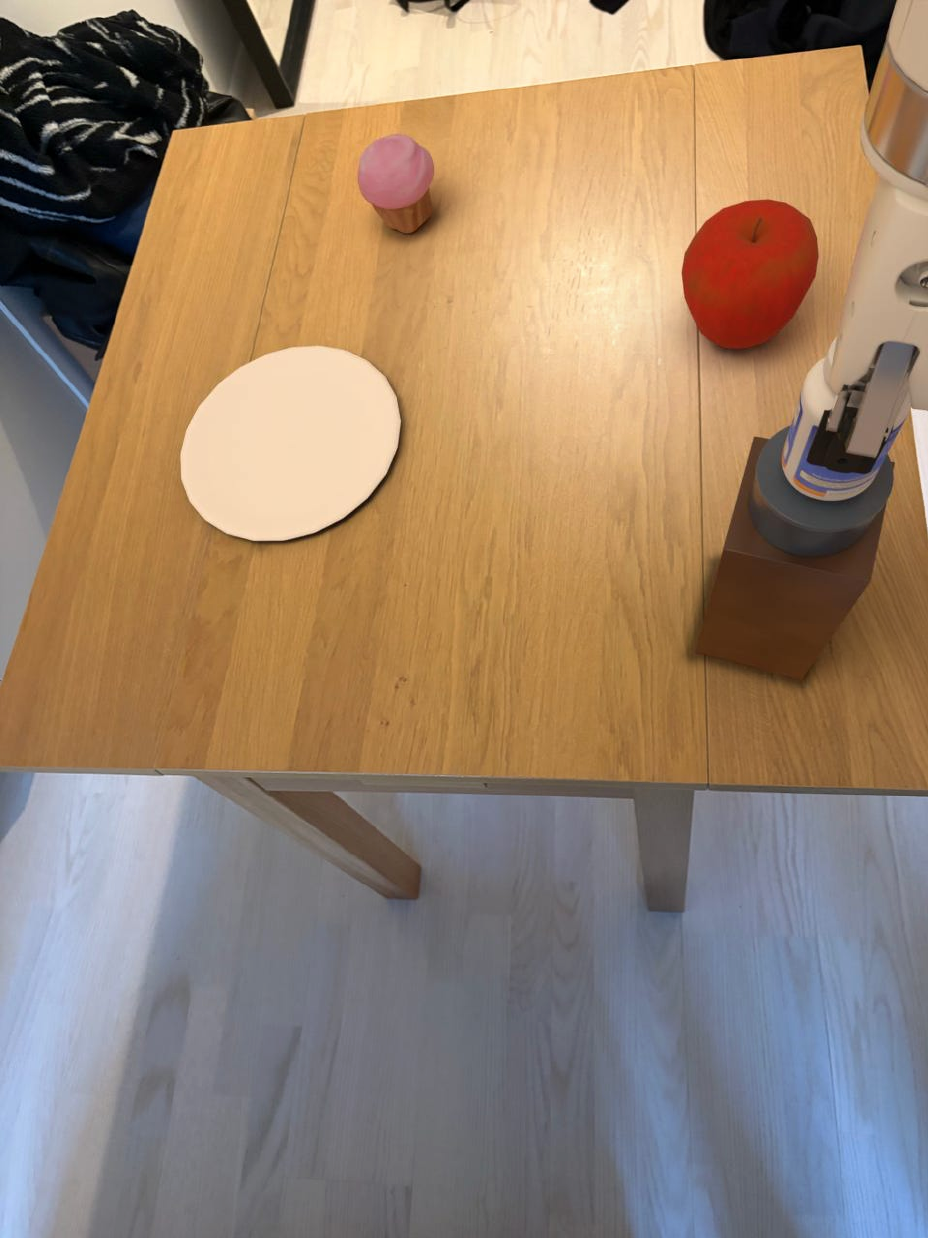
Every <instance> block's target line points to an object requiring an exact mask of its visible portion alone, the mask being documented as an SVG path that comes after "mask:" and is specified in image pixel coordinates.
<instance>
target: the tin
mask: <svg viewBox="0 0 928 1238" xmlns="http://www.w3.org/2000/svg"><path fill="white" fill-rule="evenodd" d="M790 426H791V424H790V425H788V426H786V427H784V428H782V429H781V430H778V431H777V432H776V433H775V434H774V435H773V436H771V437H770V438H769V439H770V440H769V441H768V442H767V443H766V445H765V446H764V447H763V449H762V451H761V453H760V455H759V458H758V461H757V465H756V474H755V477H754V480H753V484H752V487H751V490H750V495H749V505H748V506H749V513H750V516H751V519H752V521H753V524H754V526H755V527H756V529H757V530H758V532H759V533H760V534H761V535H762V536H763V537H764V538H765V539H766V540H767V541H768V542H769V543H771V544H772V545H774V546H775V547H777V548H779V549H781V550H783V551H785V552H788V553H791V554H794V555H798V556H804V557H823V556H829V555H833V554H837V553H839V552H842V551H844V550H846V549H848V548H850V547H851V546H853V545H854V544H855V543H857V542H858V541H859V540H860V539H861V538H862V537H863V535H864V534H865V532H866V531H867V529H868V528H869V526H870V525H871V523H872V521H873V520H874V518H875V516H876V515H877V513H878V512H879V511H880V510H881V509H882V508H883V506H884V505H885V503H886V502H887V503H888V500H889V498H890V496H891V494H892V491H893V488H894V480H895V473H894V471H893V466H892V463H891V462H892V460H891V458H890V456H889V453H888V454H887V456H886V458H885V460H884V462H883V464H882V465H881V467H880V469H879V471H878V473H877V475H876V477H875V478H874V480H873V482H872V483H871V484H870V485H869V486H868V487H867V488H866V489H865V490H864V491H863V492H861V493H860V494H858V495H856V496H854V497H851V498H848V499H844V500H838V501H824V500H818V499H814V498H811V497H809V496H806V495H804V494H802V493H801V492H799V491H798V490H797V489H795V488H794V487H793V486H792V485H791V483H790V482H789V481H788V479H787V478H786V476H785V473H784V471H783V467H782V453H783V448H784V445H785V442H786V439H787V435H788V432H789V429H790Z"/></svg>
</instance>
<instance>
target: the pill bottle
mask: <svg viewBox="0 0 928 1238" xmlns="http://www.w3.org/2000/svg"><path fill="white" fill-rule="evenodd" d="M836 340H837V336H836V337H835V338H833V340H832V342H831V343H830V346H829V349H828V351H827V354H826V355H824V356H823V357H822V358H820V359H819V360H818V361H817V362H816V363H815V364H814V365H813V366H812V367H811V368H810V369H809V371H808V373H807V375H806V377H805V379H804V381H803V385H802V388H801V391H800V394H799V397H798V400H797V403H796V406H795V410H794V413H793V416H792V420H791V423H790V425H791V426H790V425H789V426H790V429H789V432H788V435H787V439H786V442H785V445H784V448H783V453H782V467H783V471H784V473H785V476H786V478H787V479H788V481H789V482H790V483H791V485H792V486H793V487H794V488H795V489H797V490H798V491H799V492H801V493H802V494H804V495H806V496H809V497H811V498H814V499H818V500H824V501H838V500H844V499H848V498H851V497H854V496H856V495H858V494H860V493H861V492H863V491H864V490H865V489H866V488H867V487H868V486H869V485H870V484H871V483H872V482H873V480H874V478H875V477H876V475H877V473H878V471H879V469H880V467H881V465H882V464H883V462H884V460H885V458H886V456H887V454H888V455H889V452H890V450H891V448H892V446H893V444H894V442H895V441H896V438H897V436H898V435H899V433H900V431H901V429H902V428H903V427H902V426H903V425H904V423H905V421H906V419H907V417H908V416H909V414H910V412H911V409H912V406H911V402H910V396H909V391H908V393H907V395H906V397H905V399H904V402H903V404H902V406H901V409H900V411H899V413H898V416H897V418H896V420H895V423H894V427H893V431H892V433H891V434H890V436H889V438H888V440H887V442H886V444H885V446H884V448H883V449H882V451H881V453H880V455H879V457H878V459H877V461H876V463H875V464H874V466H873V468H872V470H871V472H870V473H868V474H859V473H853V472H852V473H840V472H835V471H831V470H829V469H827V468H826V467H822V466H816V465H812V464H809V463H808V462H807V461H806V460H807V456H808V452H809V449H810V446H811V444H812V441H813V439H814V436H815V433H816V431H817V428H818V426H819V423H820V420H821V418H822V415H823V413H824V410H831V409H832V406H833V403H834V400H835V397H836V394H835V393H834V392H833V390H832V389H831V387H830V385H829V378H830V373H831V367H832V362H833V356H834V351H835V345H836ZM872 366H873V365H872V364H871V365H870V367H869V368H872ZM863 393H864V392H861V391H855V390H852V393H851V396H850V399H849V401H848V404H847V406H849V407H855V408H859V405H860V402H861V399H862V396H863Z"/></svg>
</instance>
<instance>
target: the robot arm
mask: <svg viewBox="0 0 928 1238" xmlns="http://www.w3.org/2000/svg"><path fill="white" fill-rule="evenodd" d="M877 63H878V64H877V67H876V71H875V72H874V73H875V74H874V77H873V80H872V83H871V87H870V90H869V94H868V97H867V100H866V104H865V106H864V110H863V113H862V116H861V120H860V123H859V124H860V125H859V143H860V146H861V149H862V152H863V155H864V157H865V159H866V161H867V162H868V164H869V165H870V167H871V168H872V169H873V170H874V171H875V172H876V173H877V175H878V177H877V180H876V182H875V185H874V189H873V192H872V195H871V199H870V200H869V201H870V202H869V205H868V207H867V211H866V214H865V218H864V221H863V224H862V228H861V232H860V235H859V239H858V241H857V245H856V250H855V252H854V253H855V254H854V257H853V262H852V264H851V269H850V273H849V277H848V282H847V286H846V292H845V295H844V300H843V306H842V311H841V316H840V320H839V325H838V330H837V336H836V337H837V340H836V345H835V351H834V356H833V362H832V367H831V373H830V378H829V385H830V387H831V389H832V390H833V392H834V393H835V394H836V397H835V400H834V403H833V406H832V409H831V410H824V413H823V415H822V418H821V420H820V423H819V426H818V428H817V431H816V433H815V436H814V439H813V441H812V444H811V446H810V449H809V452H808V456H807V460H806V461H807V462H808V463H809V464H812V465H816V466H822V467H826V468H827V469H829V470H831V471H835V472H840V473H852V472H853V473H859V474H868V473H870V472H871V470H872V468H873V466H874V464H875V463H876V461H877V459H878V457H879V455H880V453H881V451H882V449H883V448H884V446H885V444H886V442H887V440H888V438H889V436H890V434H891V433H892V431H893V427H894V423H895V420H896V418H897V416H898V413H899V411H900V409H901V406H902V404H903V402H904V399H905V397H906V395H907V393H908V391H909V396H910V402H911V406H912V407H911V409H912V410H919V411H926V412H928V0H896V2H895V4H894V9H893V12H892V16H891V19H890V21H889V27H888V30H887V33H886V36H885V40H884V44H883V47H882V50H881V53H880V57H879V60H878V62H877ZM871 364H872V365H873V366H872V368H869V367H870V365H871ZM852 390H855V391H861V392H864V393H863V396H862V399H861V402H860V405H859V408H855V407H849V406H847V404H848V401H849V399H850V396H851V393H852Z"/></svg>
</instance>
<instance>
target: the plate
mask: <svg viewBox="0 0 928 1238" xmlns="http://www.w3.org/2000/svg"><path fill="white" fill-rule="evenodd" d="M401 426H402V419H401V413H400V408H399V402H398V398H397V395H396V393H395V392H394V389H393V388H392V386H391V385H390V383H389V381H388V378H387V377H386V375H384V374H383V373H382V372H381V371H380V370H379V369H377V368H376V367H375V366H374V365H373V364H372V363H371V362H370V361H368V360H367V359H365V358H363V357H361V356H358V355H356V354H354V353H352V352H350V351H348V350H346V349H342V348H336V347H331V346H330V347H329V346H324V345H306V346H291V347H288V348H285V349H281V350H276V351H273V352H270V353H265V354H263V355H262V356H260V357H257V358H256V359H254V360H251V361H250V362H248V363H246V364H244V365H242V366H239V367H238V368H237V369H236V370H234V371H233V372H232V373H230V374H229V375H228V376H227V377H225V378H224V379H223V380H221V381H220V382H219V383H218V384H217V385H215V387H214V388H213V389H212V390H211V391H210V393H209V394H208V395H207V396H206V397H205V398H204V400H203V401H202V402H201V403H200V404H199V405H198V407H197V409H196V411H195V413H194V415H193V417H192V418H191V421H190V422H189V424H188V426H187V428H186V430H185V434H184V438H183V442H182V447H181V450H180V454H179V455H180V459H179V460H180V479H181V482H182V485H183V488H184V490H185V493H186V495H187V498H188V501H189V503H190V504H191V505H192V507H194V509H195V510H196V511H197V512H198V513H199V515H200V516H201V517H202V519H203V520H204V521H205V522H206V523H208V524H210V525H212V526H213V527H215V528H216V529H218V530H220V531H221V532H223V533H225V534H227V535H229V536H233V537H236V538H239V539H244V540H247V541H251V542H286V541H290V540H294V539H299V538H302V537H306V536H310V535H311V536H312V535H314V534H317V533H319V532H321V531H322V530H325V529H326V528H328V527H331V526H332V525H334V524H337V523H339V522H340V521H342V520H345V519H346V517H348V516H349V515H350V514H352V513H353V512H354V511H355V510H356V509H358V508H360V506H361V505H363V503H365V502H366V501H367V500H368V499H369V498H370V497H371V496H372V494H373V493H374V492H375V491H376V489H377V488H378V487H379V485H380V484H381V483H382V481H383V480H384V479H385V477H387V475H388V473H389V470H390V468H391V465H392V463H393V461H394V458H395V456H396V454H397V451H398V449H399V443H400V434H401V429H402V427H401Z"/></svg>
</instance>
